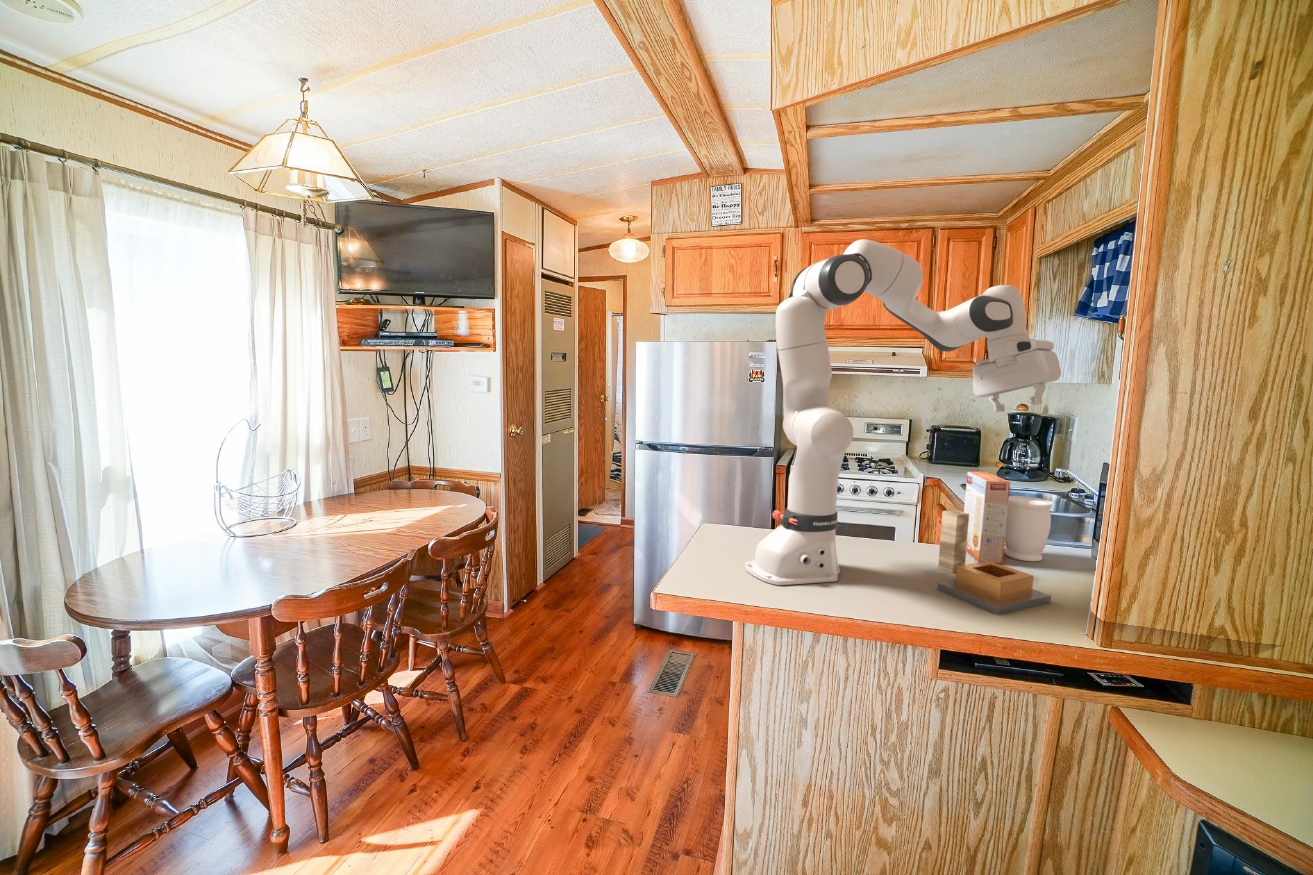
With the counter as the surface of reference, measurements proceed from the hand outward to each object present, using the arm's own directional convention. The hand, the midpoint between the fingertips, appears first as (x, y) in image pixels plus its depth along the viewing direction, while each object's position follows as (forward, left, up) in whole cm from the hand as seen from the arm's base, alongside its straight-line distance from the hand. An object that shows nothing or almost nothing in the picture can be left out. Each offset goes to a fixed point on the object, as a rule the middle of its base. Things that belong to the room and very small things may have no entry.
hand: (1017, 408), depth 137 cm
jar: (+11, +2, -39) cm, 40 cm away
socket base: (-21, -13, -39) cm, 46 cm away
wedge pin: (-15, +2, -39) cm, 42 cm away
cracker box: (+2, +7, -39) cm, 40 cm away
